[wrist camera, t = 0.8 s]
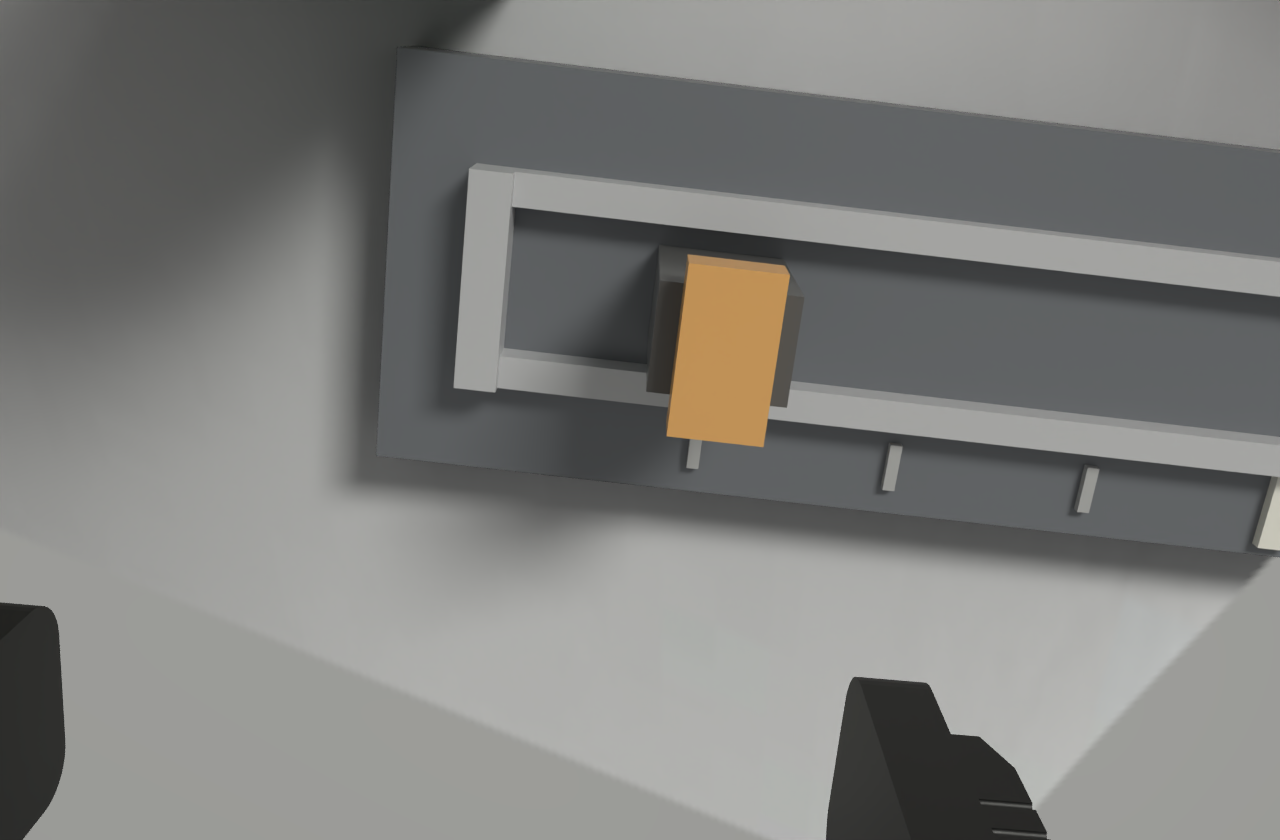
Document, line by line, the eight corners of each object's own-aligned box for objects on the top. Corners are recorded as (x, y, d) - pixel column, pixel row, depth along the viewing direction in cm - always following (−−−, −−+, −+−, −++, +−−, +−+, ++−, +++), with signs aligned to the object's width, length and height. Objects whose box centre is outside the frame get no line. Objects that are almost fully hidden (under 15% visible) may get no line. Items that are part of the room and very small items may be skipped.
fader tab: (662, 219, 29) (663, 260, 24) (787, 233, 29) (815, 277, 24) (644, 364, 30) (642, 433, 25) (764, 378, 30) (787, 450, 25)
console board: (413, 46, 30) (386, 47, 27) (1685, 198, 31) (1800, 217, 27) (392, 431, 33) (365, 471, 30) (1549, 561, 34) (1638, 614, 30)
